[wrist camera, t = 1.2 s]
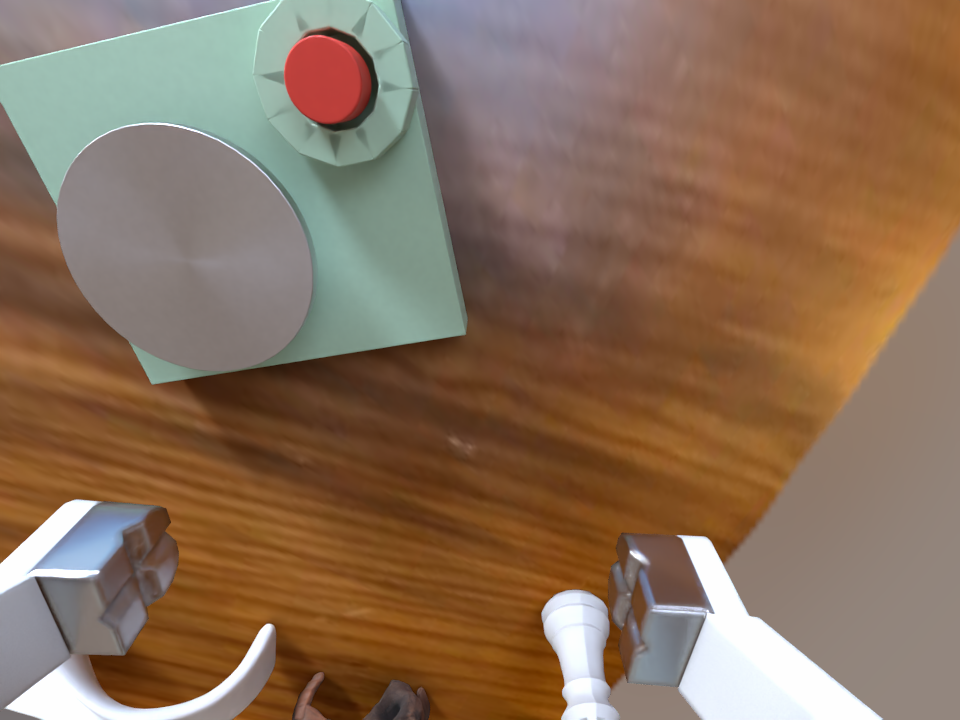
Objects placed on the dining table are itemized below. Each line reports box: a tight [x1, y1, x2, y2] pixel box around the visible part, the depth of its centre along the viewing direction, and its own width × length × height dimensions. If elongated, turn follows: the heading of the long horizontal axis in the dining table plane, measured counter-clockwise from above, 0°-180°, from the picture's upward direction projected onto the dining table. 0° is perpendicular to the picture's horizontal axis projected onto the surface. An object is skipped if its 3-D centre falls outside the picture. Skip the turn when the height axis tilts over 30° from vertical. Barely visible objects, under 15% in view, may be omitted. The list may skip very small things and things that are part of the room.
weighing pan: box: [57, 122, 317, 371], centre depth 21 cm, size 10×10×1 cm
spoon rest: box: [5, 624, 276, 720], centre depth 34 cm, size 24×12×7 cm, turn 80°
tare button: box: [284, 35, 372, 124], centre depth 18 cm, size 3×3×2 cm
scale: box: [0, 0, 468, 384], centre depth 22 cm, size 16×14×4 cm
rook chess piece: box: [542, 590, 620, 720], centre depth 32 cm, size 4×4×8 cm
